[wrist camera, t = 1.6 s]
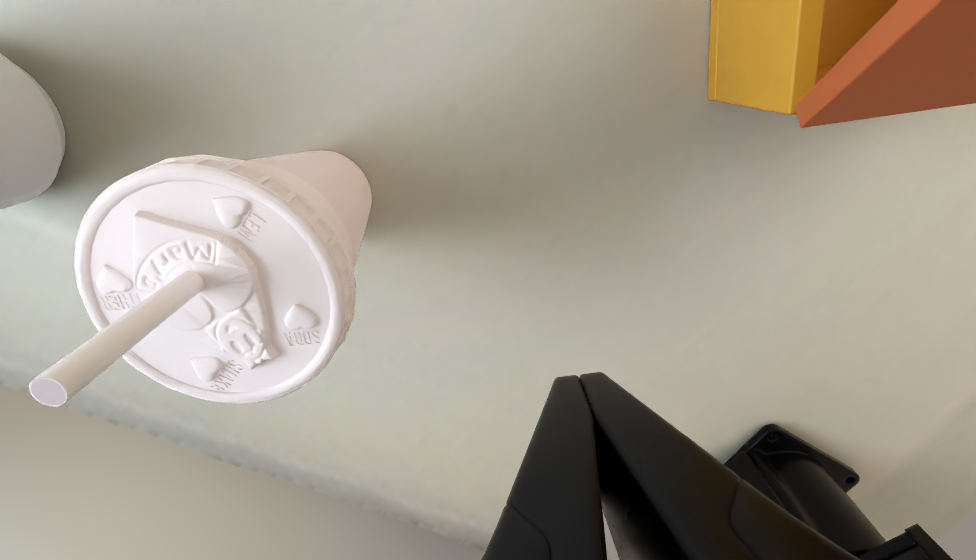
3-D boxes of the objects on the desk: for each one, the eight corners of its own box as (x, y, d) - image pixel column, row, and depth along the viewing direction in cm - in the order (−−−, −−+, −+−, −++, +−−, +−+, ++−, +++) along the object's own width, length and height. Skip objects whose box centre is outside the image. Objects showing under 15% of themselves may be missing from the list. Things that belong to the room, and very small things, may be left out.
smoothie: (346, 82, 19) (65, 134, 6) (434, 225, 21) (359, 477, 9) (214, 164, 20) (-250, 349, 7) (310, 291, 23) (83, 600, 10)
